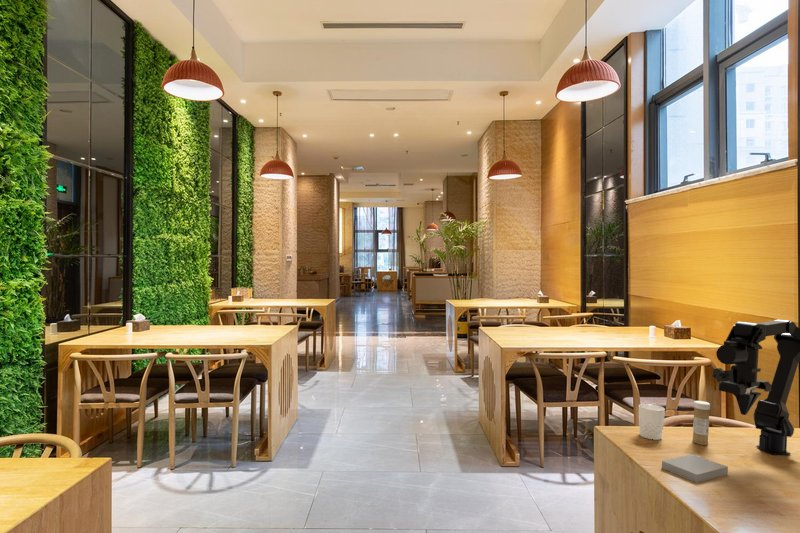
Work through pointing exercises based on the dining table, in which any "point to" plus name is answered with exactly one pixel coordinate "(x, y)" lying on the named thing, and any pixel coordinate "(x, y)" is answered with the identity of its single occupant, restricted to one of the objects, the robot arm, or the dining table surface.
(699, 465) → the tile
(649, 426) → the white cup
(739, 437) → the dining table surface
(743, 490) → the dining table surface
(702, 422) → the sprinkles bottle
